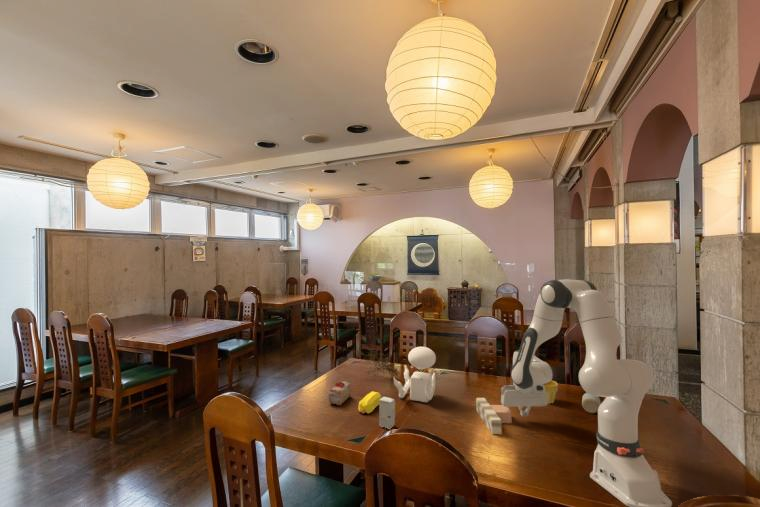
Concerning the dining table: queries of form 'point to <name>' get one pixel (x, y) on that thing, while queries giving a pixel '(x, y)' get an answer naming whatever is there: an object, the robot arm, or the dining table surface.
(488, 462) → the dining table surface
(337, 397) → the food item
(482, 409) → the white segmented block row
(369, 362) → the dried plant
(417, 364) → the figurine
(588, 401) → the ceramic mug
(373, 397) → the yellow rounded capsule
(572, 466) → the dining table surface
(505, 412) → the peach block
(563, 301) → the robot arm
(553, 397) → the plant pot
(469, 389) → the dining table surface
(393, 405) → the skincare box
